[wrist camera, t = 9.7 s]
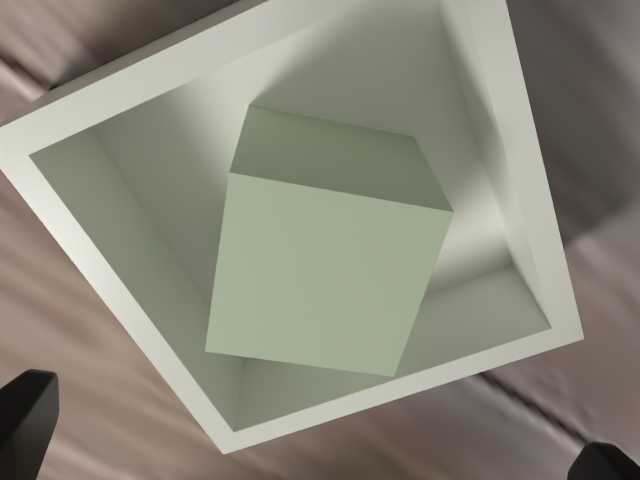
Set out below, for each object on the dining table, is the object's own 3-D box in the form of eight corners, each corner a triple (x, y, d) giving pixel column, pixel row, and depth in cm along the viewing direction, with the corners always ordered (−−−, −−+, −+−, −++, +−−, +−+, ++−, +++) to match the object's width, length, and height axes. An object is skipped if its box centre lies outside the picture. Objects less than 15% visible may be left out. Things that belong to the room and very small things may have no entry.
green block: (372, 273, 19) (393, 377, 15) (227, 250, 18) (204, 351, 14) (413, 137, 16) (454, 212, 12) (248, 104, 16) (229, 172, 12)
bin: (235, 370, 22) (223, 454, 18) (46, 92, 16) (-24, 138, 13) (534, 265, 20) (584, 338, 16) (437, -95, 14) (482, -101, 11)
